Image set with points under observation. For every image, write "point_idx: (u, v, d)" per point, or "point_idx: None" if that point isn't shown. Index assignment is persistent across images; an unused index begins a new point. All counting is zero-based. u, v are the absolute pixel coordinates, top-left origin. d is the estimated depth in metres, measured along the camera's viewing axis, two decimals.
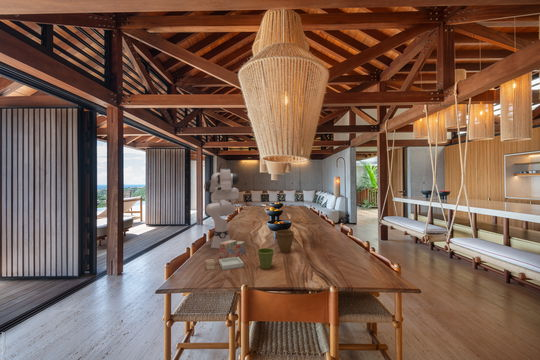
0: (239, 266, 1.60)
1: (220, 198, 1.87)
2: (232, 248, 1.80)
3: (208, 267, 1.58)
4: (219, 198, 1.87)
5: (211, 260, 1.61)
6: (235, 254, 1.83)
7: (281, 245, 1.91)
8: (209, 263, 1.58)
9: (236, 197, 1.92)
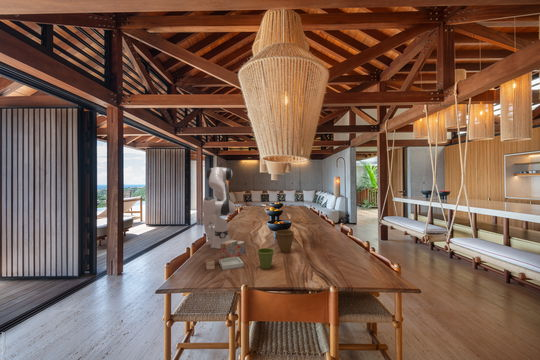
0: (239, 266, 1.60)
1: (206, 232, 1.64)
2: (233, 248, 1.81)
3: (208, 267, 1.58)
4: (205, 231, 1.65)
5: (211, 260, 1.61)
6: (236, 254, 1.83)
7: (281, 245, 1.91)
8: (209, 263, 1.58)
9: (208, 235, 1.52)
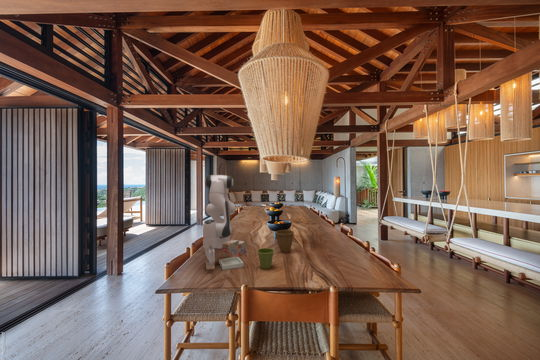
0: (239, 266, 1.60)
1: (206, 254, 1.65)
2: (234, 248, 1.81)
3: (208, 267, 1.58)
4: (206, 254, 1.65)
5: None
6: (237, 253, 1.83)
7: (281, 245, 1.91)
8: None
9: (209, 260, 1.53)
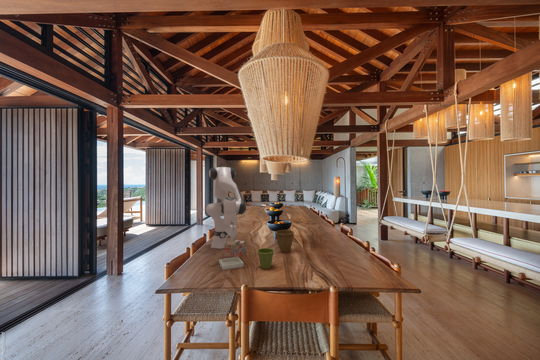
0: (239, 266, 1.60)
1: (226, 231, 1.69)
2: (236, 248, 1.81)
3: (229, 242, 1.62)
4: (226, 231, 1.70)
5: None
6: (238, 253, 1.84)
7: (281, 245, 1.91)
8: None
9: (230, 235, 1.57)
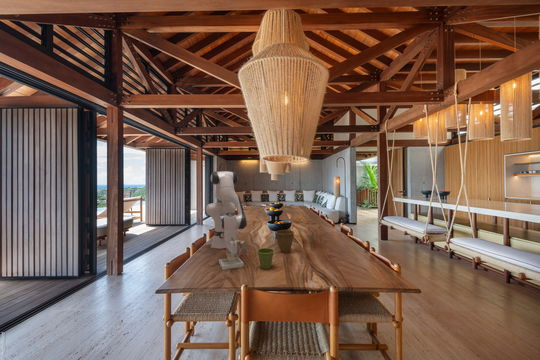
0: (239, 266, 1.60)
1: (226, 246, 1.69)
2: (237, 248, 1.81)
3: (229, 258, 1.62)
4: (226, 246, 1.70)
5: None
6: (239, 253, 1.84)
7: (281, 245, 1.91)
8: (230, 254, 1.62)
9: (230, 251, 1.57)
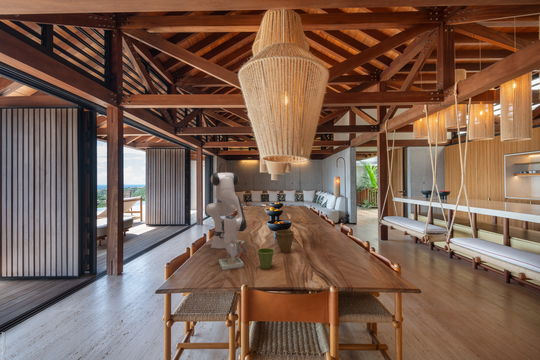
0: (239, 266, 1.60)
1: (226, 249, 1.69)
2: (238, 248, 1.81)
3: (229, 263, 1.62)
4: (226, 248, 1.70)
5: None
6: (240, 253, 1.84)
7: (281, 245, 1.91)
8: (230, 259, 1.63)
9: (230, 254, 1.57)
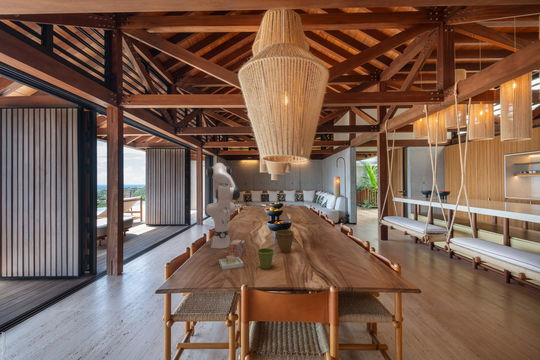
0: (239, 266, 1.60)
1: (220, 216, 1.75)
2: (240, 248, 1.82)
3: (229, 263, 1.62)
4: (220, 216, 1.76)
5: (232, 256, 1.66)
6: (241, 253, 1.85)
7: (281, 245, 1.91)
8: (230, 259, 1.63)
9: (224, 219, 1.64)
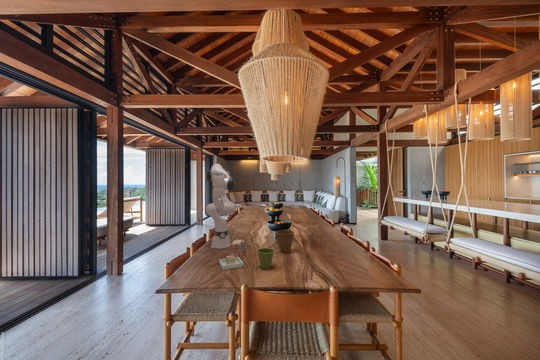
0: (239, 266, 1.60)
1: (215, 205, 1.81)
2: (241, 247, 1.82)
3: (229, 263, 1.62)
4: (215, 205, 1.81)
5: (232, 256, 1.66)
6: (242, 253, 1.85)
7: (281, 245, 1.91)
8: (230, 259, 1.63)
9: (218, 207, 1.69)
